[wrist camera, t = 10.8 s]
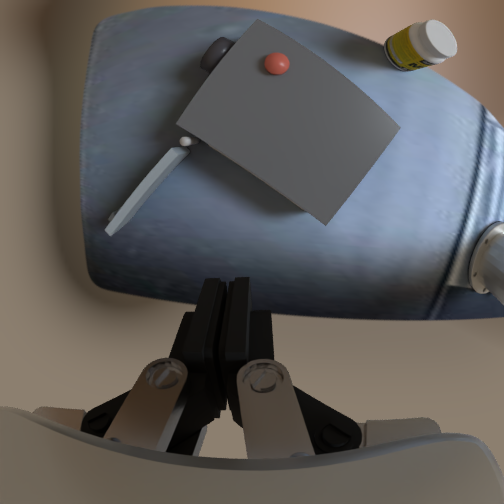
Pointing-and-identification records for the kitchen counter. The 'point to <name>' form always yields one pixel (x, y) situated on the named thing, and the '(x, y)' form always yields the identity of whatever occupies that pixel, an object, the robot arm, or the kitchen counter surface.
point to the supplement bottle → (420, 45)
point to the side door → (146, 188)
